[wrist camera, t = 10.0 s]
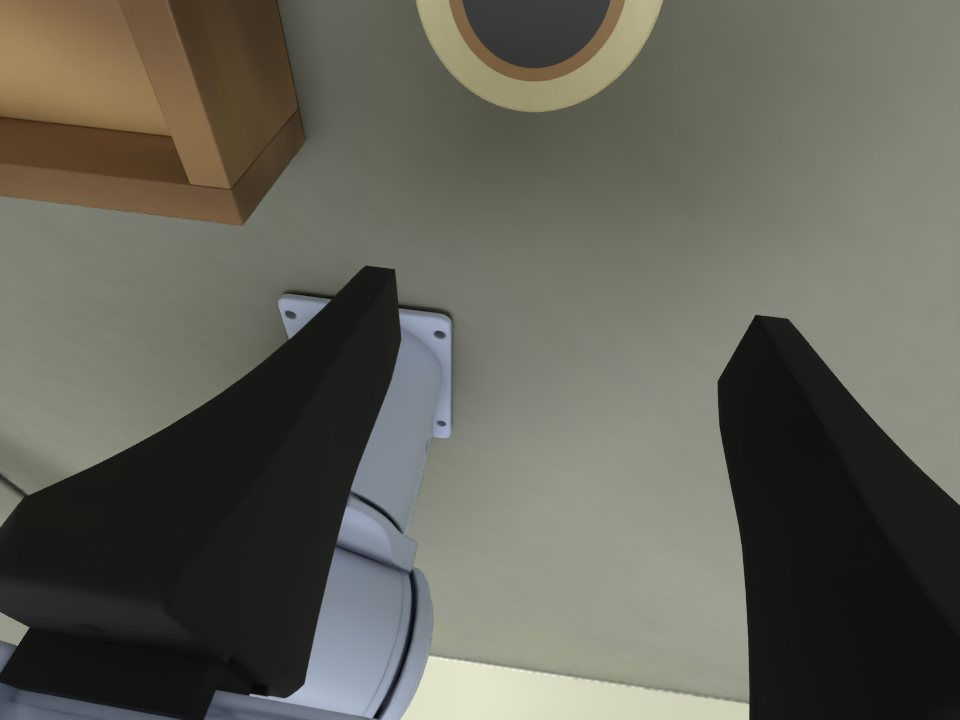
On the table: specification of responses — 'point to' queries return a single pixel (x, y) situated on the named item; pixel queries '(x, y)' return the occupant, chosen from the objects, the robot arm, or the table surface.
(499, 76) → the tape roll
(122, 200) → the shelf
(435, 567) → the table surface
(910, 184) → the table surface
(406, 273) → the table surface
